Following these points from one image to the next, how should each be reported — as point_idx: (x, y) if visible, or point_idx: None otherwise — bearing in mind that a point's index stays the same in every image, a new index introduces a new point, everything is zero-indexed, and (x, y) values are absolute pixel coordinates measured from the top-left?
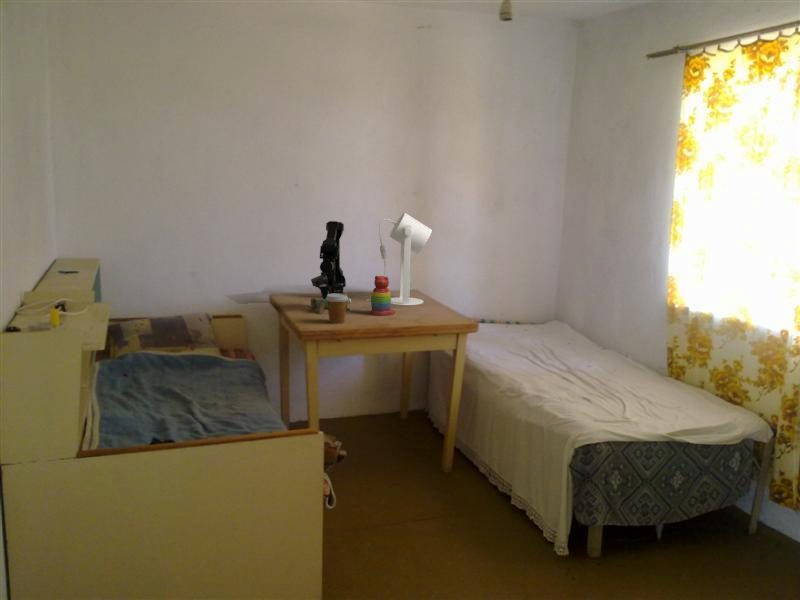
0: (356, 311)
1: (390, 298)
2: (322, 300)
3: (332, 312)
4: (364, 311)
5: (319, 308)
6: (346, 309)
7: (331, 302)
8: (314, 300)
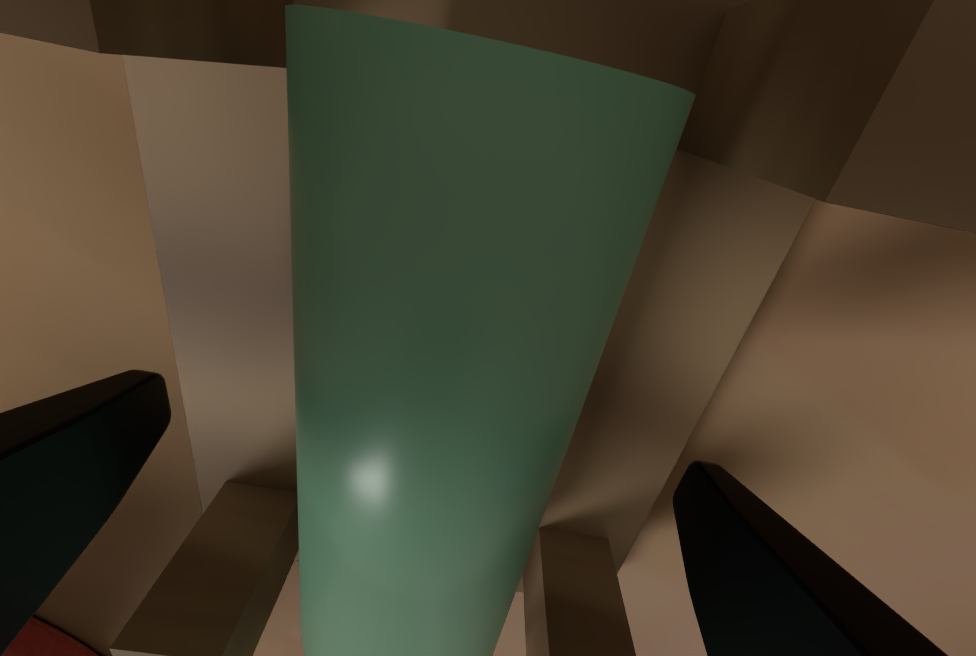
0: (154, 548)
1: None
2: (335, 222)
3: None
4: (122, 600)
5: None
6: (207, 501)
7: None
8: (850, 87)
